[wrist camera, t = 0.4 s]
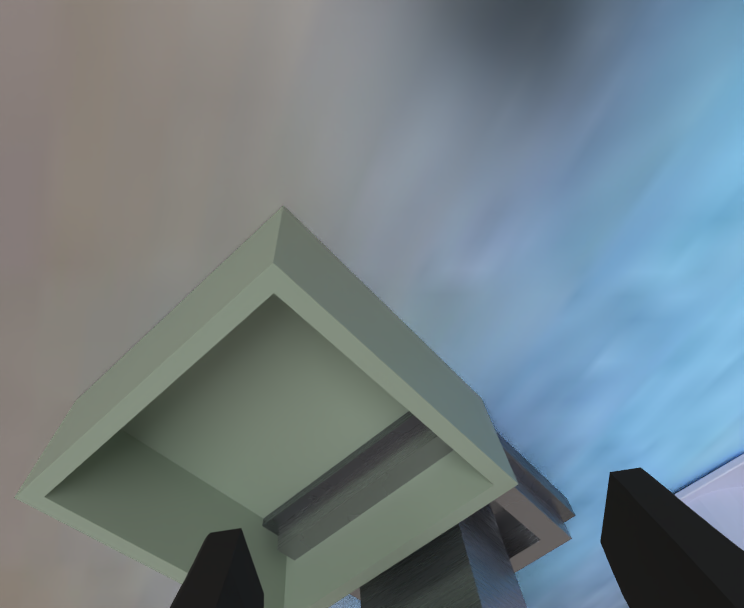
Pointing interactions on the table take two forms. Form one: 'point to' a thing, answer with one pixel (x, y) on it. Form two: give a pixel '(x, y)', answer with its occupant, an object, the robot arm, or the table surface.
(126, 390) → the bin
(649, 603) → the robot arm
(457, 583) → the grey plug block
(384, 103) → the table surface
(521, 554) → the socket block
